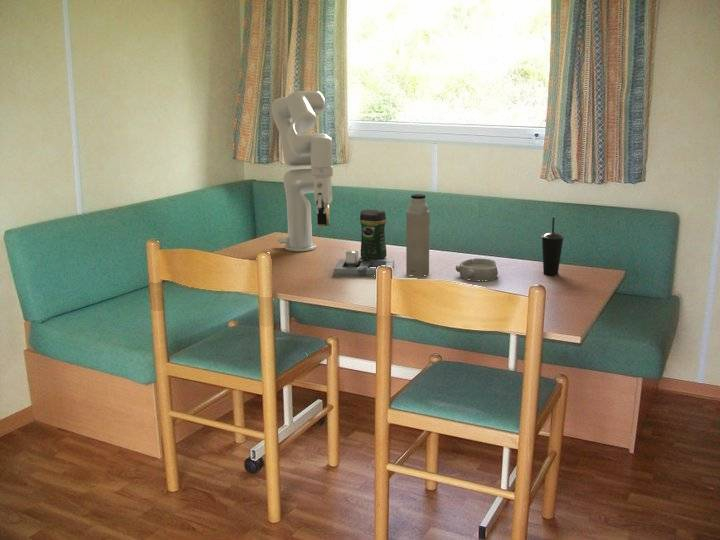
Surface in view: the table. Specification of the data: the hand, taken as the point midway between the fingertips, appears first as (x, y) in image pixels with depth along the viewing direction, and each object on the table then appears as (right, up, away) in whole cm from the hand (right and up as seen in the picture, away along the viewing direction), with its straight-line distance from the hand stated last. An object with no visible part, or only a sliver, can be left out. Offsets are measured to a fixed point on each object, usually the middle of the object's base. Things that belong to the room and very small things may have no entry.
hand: (323, 222), depth 275 cm
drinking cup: (+79, -19, -7) cm, 82 cm away
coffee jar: (+18, -13, +19) cm, 29 cm away
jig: (+15, -17, +1) cm, 23 cm away
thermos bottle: (+33, -18, -4) cm, 38 cm away
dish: (+54, -20, -8) cm, 58 cm away
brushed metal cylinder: (+10, -17, +1) cm, 20 cm away
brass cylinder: (0, -1, 0) cm, 1 cm away
